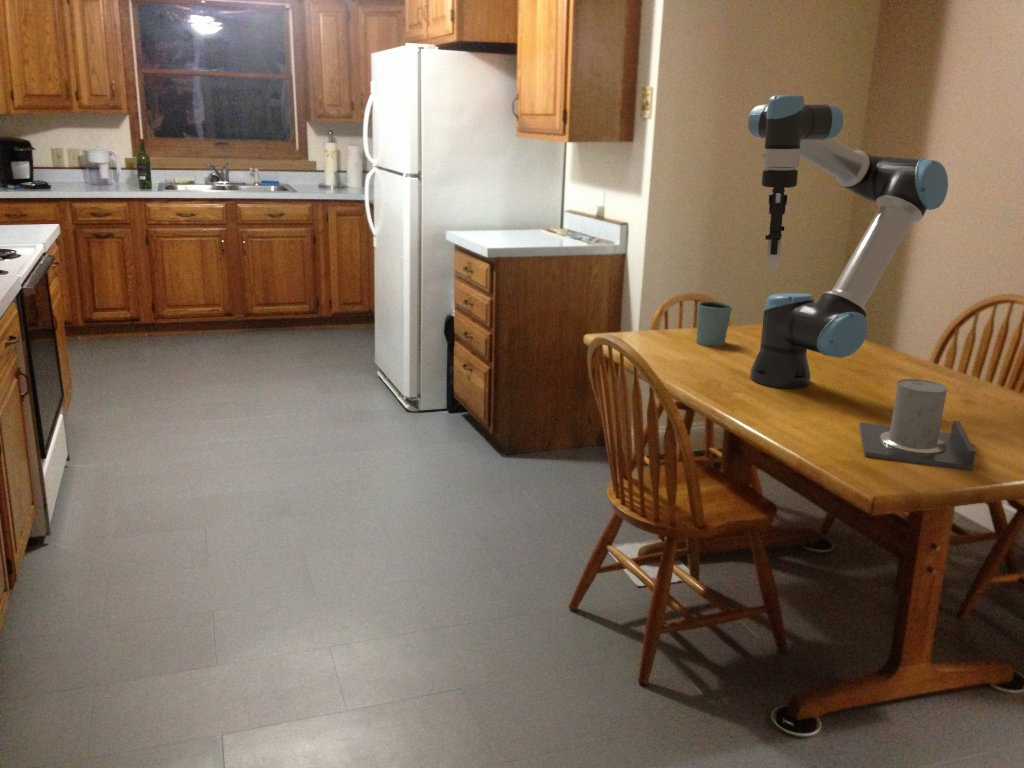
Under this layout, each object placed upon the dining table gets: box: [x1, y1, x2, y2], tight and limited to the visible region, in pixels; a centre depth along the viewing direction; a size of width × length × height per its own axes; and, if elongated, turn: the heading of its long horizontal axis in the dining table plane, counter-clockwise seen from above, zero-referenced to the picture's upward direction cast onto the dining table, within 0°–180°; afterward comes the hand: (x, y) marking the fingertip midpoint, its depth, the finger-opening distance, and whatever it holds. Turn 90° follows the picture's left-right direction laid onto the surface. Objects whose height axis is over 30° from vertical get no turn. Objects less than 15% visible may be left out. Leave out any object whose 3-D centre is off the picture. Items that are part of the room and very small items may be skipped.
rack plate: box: [858, 419, 976, 471], centre depth 188 cm, size 20×20×4 cm
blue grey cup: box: [695, 300, 733, 347], centre depth 271 cm, size 10×10×12 cm
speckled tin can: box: [889, 378, 948, 449], centre depth 186 cm, size 10×10×12 cm
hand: (772, 264), depth 203 cm, fingers open, 13 cm apart
